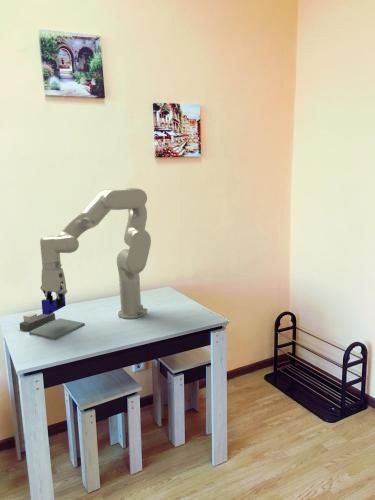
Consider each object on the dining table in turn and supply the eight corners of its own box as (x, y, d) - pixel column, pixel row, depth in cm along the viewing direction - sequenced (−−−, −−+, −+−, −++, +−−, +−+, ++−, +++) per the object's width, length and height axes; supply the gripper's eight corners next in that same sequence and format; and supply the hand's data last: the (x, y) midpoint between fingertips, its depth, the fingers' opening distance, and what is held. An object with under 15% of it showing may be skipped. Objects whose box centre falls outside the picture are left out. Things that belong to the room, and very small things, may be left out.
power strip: (55, 319, 195) (54, 307, 194) (28, 331, 182) (26, 318, 180) (47, 317, 198) (46, 305, 197) (20, 329, 184) (18, 316, 183)
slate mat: (84, 325, 187) (84, 323, 187) (55, 340, 172) (54, 337, 171) (60, 320, 194) (59, 318, 194) (29, 334, 179) (29, 332, 178)
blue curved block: (57, 304, 186) (55, 292, 184) (65, 305, 184) (64, 292, 183) (39, 313, 174) (38, 300, 173) (48, 314, 173) (47, 301, 172)
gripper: (72, 265, 176) (76, 306, 180) (43, 261, 184) (47, 301, 188) (59, 269, 170) (63, 311, 173) (30, 265, 178) (34, 306, 181)
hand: (55, 305), depth 181 cm, fingers closed on blue curved block, 5 cm apart
